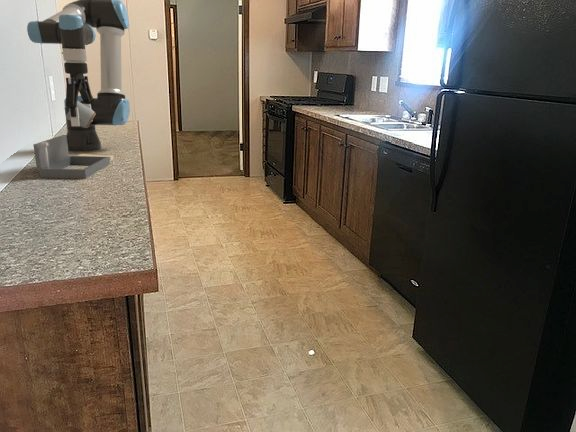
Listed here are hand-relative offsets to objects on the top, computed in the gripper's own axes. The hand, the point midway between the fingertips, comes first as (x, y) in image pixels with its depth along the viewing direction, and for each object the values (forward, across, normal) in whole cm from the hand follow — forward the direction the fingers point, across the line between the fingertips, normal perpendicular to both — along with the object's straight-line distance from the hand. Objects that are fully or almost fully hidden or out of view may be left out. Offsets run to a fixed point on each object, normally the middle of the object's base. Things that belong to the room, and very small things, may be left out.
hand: (82, 123), depth 174 cm
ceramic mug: (+2, 0, 0) cm, 2 cm away
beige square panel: (+16, -8, -1) cm, 18 cm away
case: (+15, +12, +1) cm, 19 cm away
